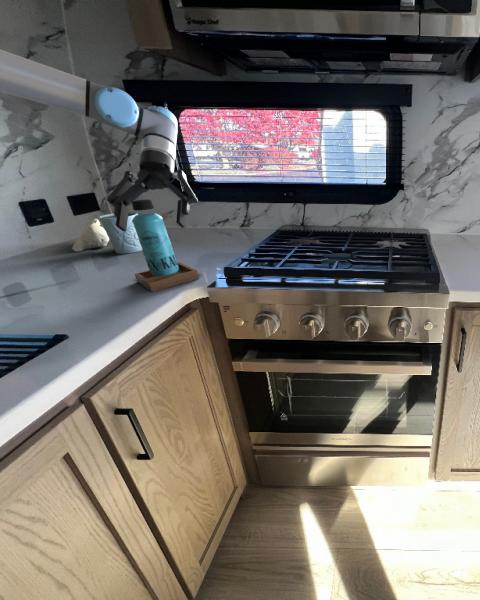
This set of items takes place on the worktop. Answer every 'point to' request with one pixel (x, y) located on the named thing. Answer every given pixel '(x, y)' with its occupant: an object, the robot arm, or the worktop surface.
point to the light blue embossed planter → (122, 234)
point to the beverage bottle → (154, 240)
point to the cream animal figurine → (92, 237)
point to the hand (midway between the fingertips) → (151, 226)
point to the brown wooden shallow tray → (167, 278)
